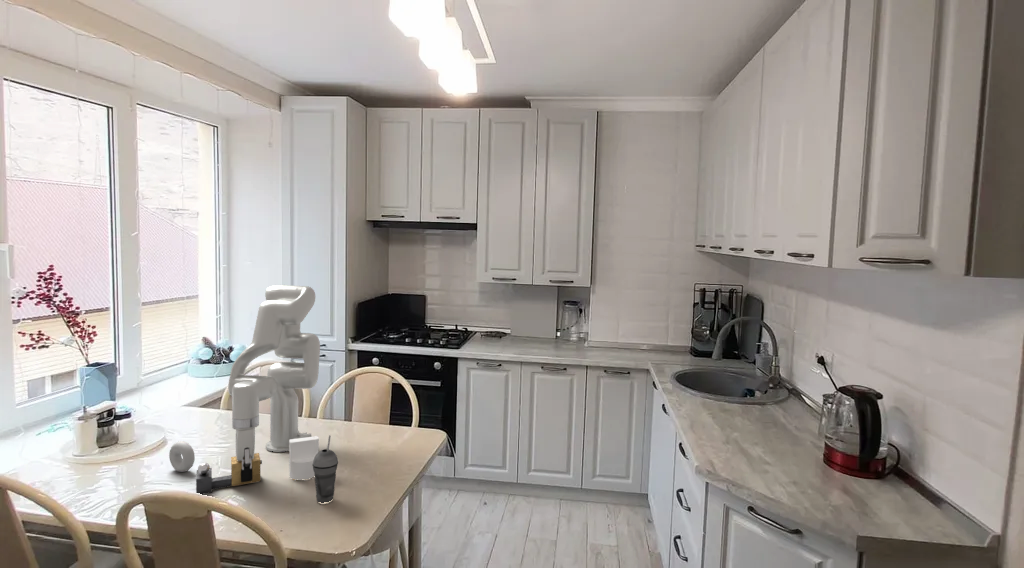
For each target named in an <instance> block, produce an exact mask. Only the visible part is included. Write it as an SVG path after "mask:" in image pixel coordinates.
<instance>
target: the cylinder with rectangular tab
mask: <svg viewBox="0 0 1024 568" xmlns="http://www.w3.org/2000/svg"><path fill="white" fill-rule="evenodd" d="M319 444H320V442H319V436H318V435H314V436H313V435H312V437H305V438H298V439H290V440H289V451H288V452H289V457H288V458H289V460H288V462H289V464H288V466H289V467H288V468H289V469H288V472H289V474H288V475H289V476H290V477H289V479H290V478H292V479H296V480H297V479H298V480H302V479H309V478H312V477H314V476H315V475H314V470H313V466H312V465H313V460H314V457H315V456H316V454H317V453H318V452H319V449H320V448H319ZM314 478H315V477H314ZM292 479H291V480H292ZM312 479H313V478H312ZM296 480H295V481H296ZM309 480H310V479H309Z"/></svg>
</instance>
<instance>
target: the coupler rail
mask: <svg viewBox="0 0 1024 568" xmlns="http://www.w3.org/2000/svg"><path fill="white" fill-rule="evenodd" d="M212 468H213V467H211V466H210V463H207V462H202V463H200V464H199V465H198V467H197V469H196V474H195V476H196V477H195V486H196V487H195V490H196V493H200V494H202V495H206V494H212V492H213V491H212V490H216V489H223V488H228V487H229V486H230V487H233V486H232V475H231V474H229V475H224V476H218V477H213V475H212V474H213V473H212V472H213V470H212ZM230 487H229V488H230Z"/></svg>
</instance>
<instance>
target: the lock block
mask: <svg viewBox="0 0 1024 568" xmlns="http://www.w3.org/2000/svg"><path fill="white" fill-rule="evenodd" d="M244 459H245V458H243V460H244ZM249 459H250V457H249ZM230 460H231V461H230V463H231V464H230V475H232V486H231V487H236V486H243V485H246V484H254V483H258V482H261V477H262V476H261V465H263V460H262V459H261V456H260V452H256V453H255V452H254V458H253V459H252V481H248V482H241V469H242V460H241V461H239V462H238V461H237V460H236V455H235V456H231V457H230ZM244 463H245V461H244Z"/></svg>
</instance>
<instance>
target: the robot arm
mask: <svg viewBox="0 0 1024 568" xmlns="http://www.w3.org/2000/svg"><path fill="white" fill-rule="evenodd" d="M264 296H265V301H262V303H260V305H259V307H258V309H257V316H256V321H255V325H254V330H253V335H252V340H251V343H250V344H249V345H248V346H247V347H245V349H243V350H242V351H241V353H240V354H238V355H237V358H236V359H235V360H234V363H232V366H231V370H230V375H229V379H228V385H227V387H228V388H227V390H228V394H229V396H231V402H232V403H231V404H232V405H231V406H232V407H231V408H232V409H231V410H232V411H231V412H232V419H231V420H232V421H231V422H232V424H231V426H232V429H233V430H235V456H236V460H237V461H238V462H239V461H241V460H242V469H241V482H248V481H252V459H253V458H254V454H255V448H256V445H255V444H256V428H257V427H259V426H260V402H262V401H265V400H269V399H270V400H269V404H270V405H269V406H270V408H269V409H270V413H269V414H270V416H269V417H270V422H269V423H270V425H269V426H270V428H269V429H270V430H269V431H270V433H269V434H270V436H269V437H270V438H269V439H270V440H268V441H267V442H266V443H265V449H266V451H267V450H268V451H269V452H272V451H273V452H274V453H286V452H289V440H290V439H298V438H305V437H313V435H312V433H311V432H310V433H308V432H306V431H304V432H300V431H299V398H298V394H297V393H296V391H295V389H296V390H298V389H299V390H301V389H302V390H306V389H307V390H310V389H313V388H314V387H316V385H317V383H318V378H319V367H320V358H321V357H320V355H321V353H320V352H321V343H320V339H319V337H318V335H317V334H314V333H311V332H301V323H303V321H304V320H305V318H306V317H307V316H308V314H309V313H310V311H311V310H312V308H313V306H315V302H316V292H315V290H314V289H313V287H311V286H307V285H285V284H283V285H282V284H278V285H276V284H275V285H271V286H269V287H267V288H266V290H265V295H264ZM273 351H274V354H275V356H277V358H281V359H282V358H283V359H293V360H294V359H296V360H297V359H299V360H301V359H302V360H303V362H298V361H297V362H296V361H278V362H274V363H273V364H271V365H270V366H269V367H268V369H267V374H266V375H251V374H250V375H249V374H248V375H247V374H245V372H246V370H247V367H248V366H249V364H250V363H251V362H252V361H254V360H255V359H257V358H258V357H260V356H261V357H262V356H263V355H266V354H268V353H270V352H273ZM285 451H286V452H285ZM249 457H250V459H249ZM243 458H245V459H244V460H243ZM244 461H245V463H244Z"/></svg>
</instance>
